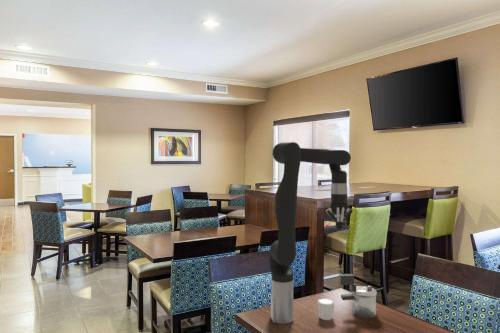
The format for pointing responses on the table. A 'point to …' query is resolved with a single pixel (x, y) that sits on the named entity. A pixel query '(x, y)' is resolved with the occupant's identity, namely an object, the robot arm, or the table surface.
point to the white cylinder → (325, 308)
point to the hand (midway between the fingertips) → (339, 229)
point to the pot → (362, 305)
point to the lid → (357, 290)
